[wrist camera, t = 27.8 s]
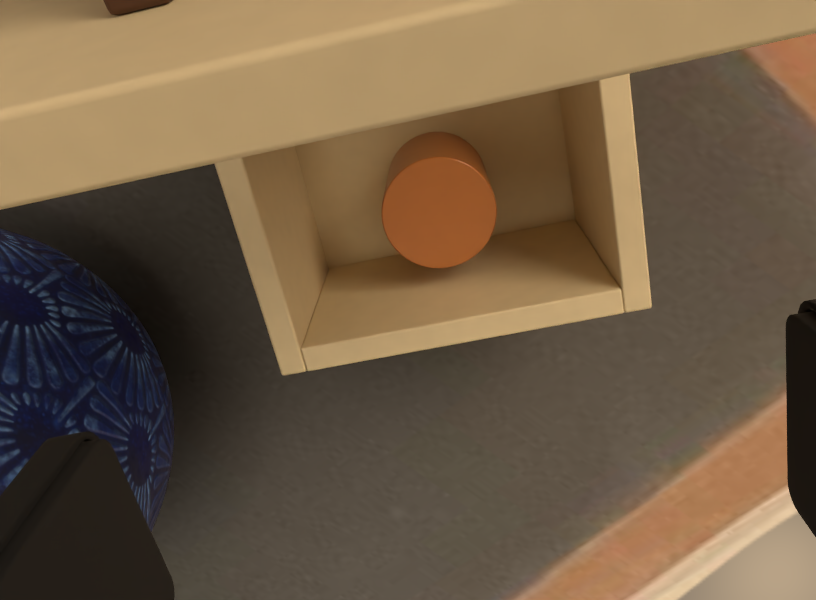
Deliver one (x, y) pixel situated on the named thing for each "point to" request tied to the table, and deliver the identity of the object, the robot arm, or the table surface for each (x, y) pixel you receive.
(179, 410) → the table surface
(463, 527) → the table surface
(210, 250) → the table surface
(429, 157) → the orange cylinder
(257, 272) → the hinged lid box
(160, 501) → the planter
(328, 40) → the lid
